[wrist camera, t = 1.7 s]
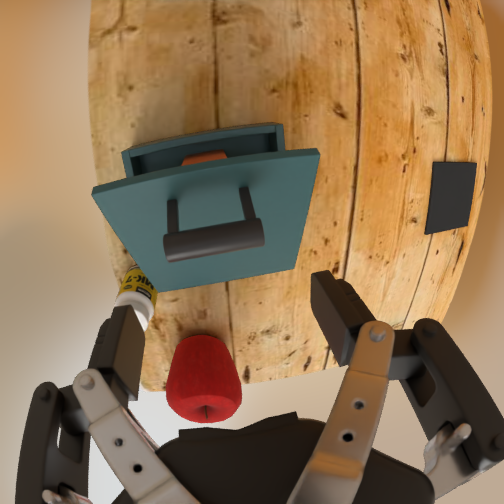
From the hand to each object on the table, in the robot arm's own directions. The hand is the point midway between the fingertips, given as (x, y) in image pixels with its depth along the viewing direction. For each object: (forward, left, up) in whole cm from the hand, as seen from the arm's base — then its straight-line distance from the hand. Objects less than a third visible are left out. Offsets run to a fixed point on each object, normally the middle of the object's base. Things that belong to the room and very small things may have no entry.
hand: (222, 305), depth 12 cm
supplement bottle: (+11, -11, -22) cm, 27 cm away
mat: (+6, +38, -21) cm, 44 cm away
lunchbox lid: (+3, 0, -13) cm, 13 cm away
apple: (+25, -6, -22) cm, 34 cm away
